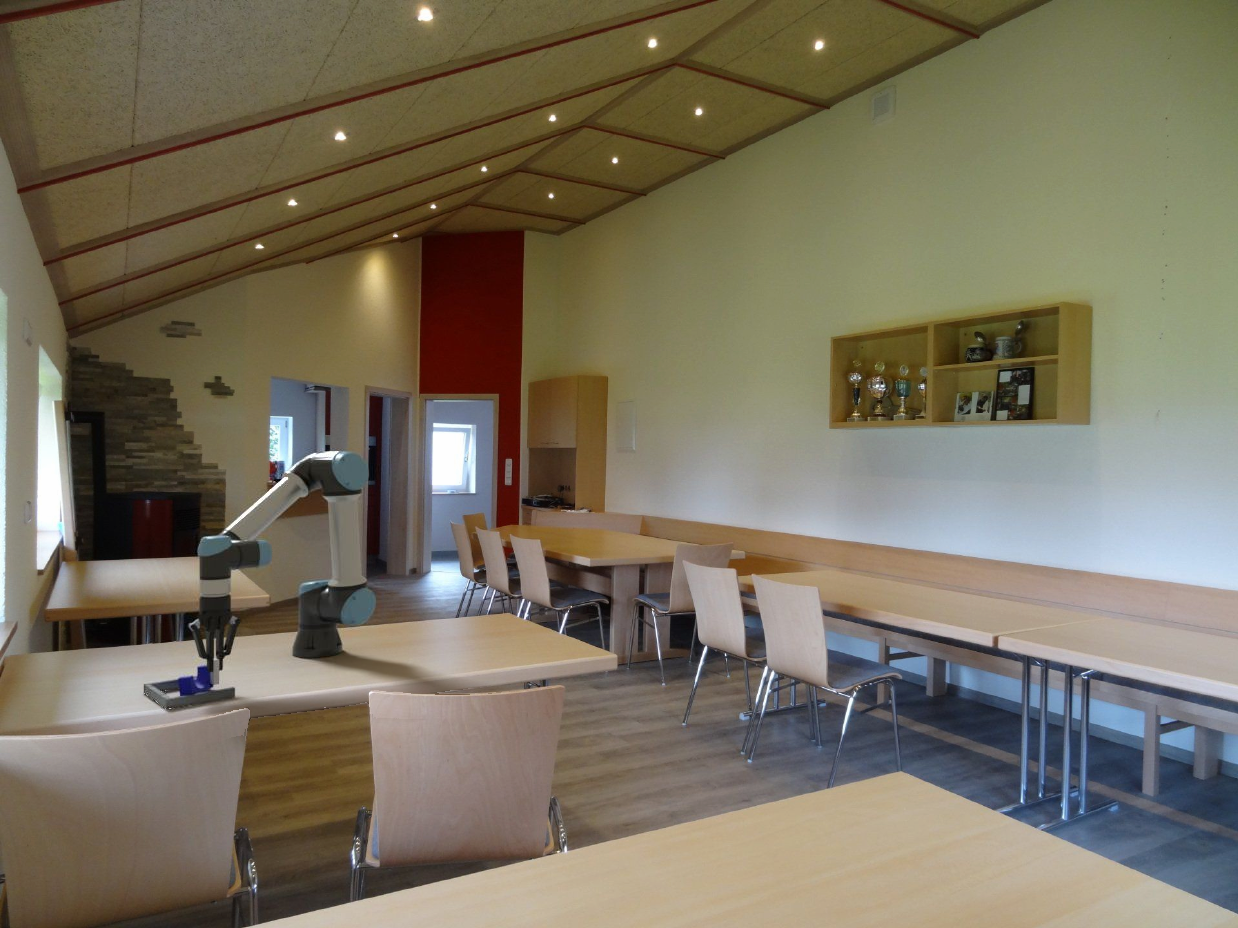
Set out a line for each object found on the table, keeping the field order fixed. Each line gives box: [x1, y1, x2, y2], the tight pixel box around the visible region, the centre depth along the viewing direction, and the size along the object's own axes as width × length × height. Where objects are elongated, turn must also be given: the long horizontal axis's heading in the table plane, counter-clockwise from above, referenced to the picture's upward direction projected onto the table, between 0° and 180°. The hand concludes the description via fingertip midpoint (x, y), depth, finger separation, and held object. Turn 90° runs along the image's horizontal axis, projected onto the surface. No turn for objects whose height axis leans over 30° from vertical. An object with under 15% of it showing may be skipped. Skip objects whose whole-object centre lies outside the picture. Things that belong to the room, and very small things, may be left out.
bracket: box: [143, 675, 236, 710], centre depth 213 cm, size 16×19×2 cm
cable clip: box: [177, 664, 215, 696], centre depth 213 cm, size 12×4×6 cm, turn 3°
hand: (214, 683), depth 217 cm, fingers closed
